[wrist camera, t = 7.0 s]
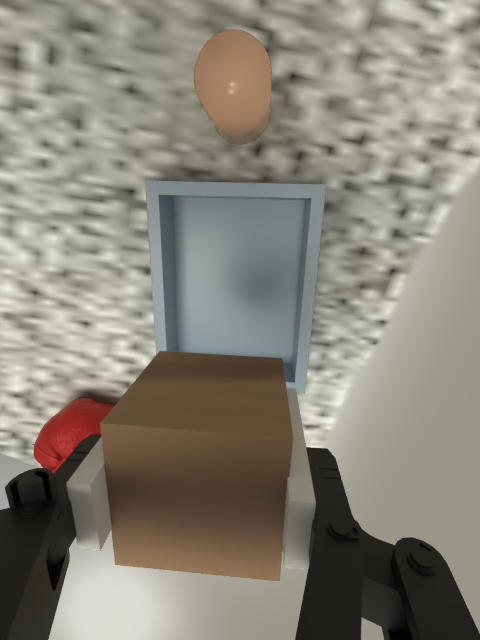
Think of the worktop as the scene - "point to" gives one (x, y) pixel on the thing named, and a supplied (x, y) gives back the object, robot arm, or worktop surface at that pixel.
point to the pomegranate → (68, 431)
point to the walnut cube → (200, 465)
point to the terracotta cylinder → (235, 85)
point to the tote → (235, 268)
